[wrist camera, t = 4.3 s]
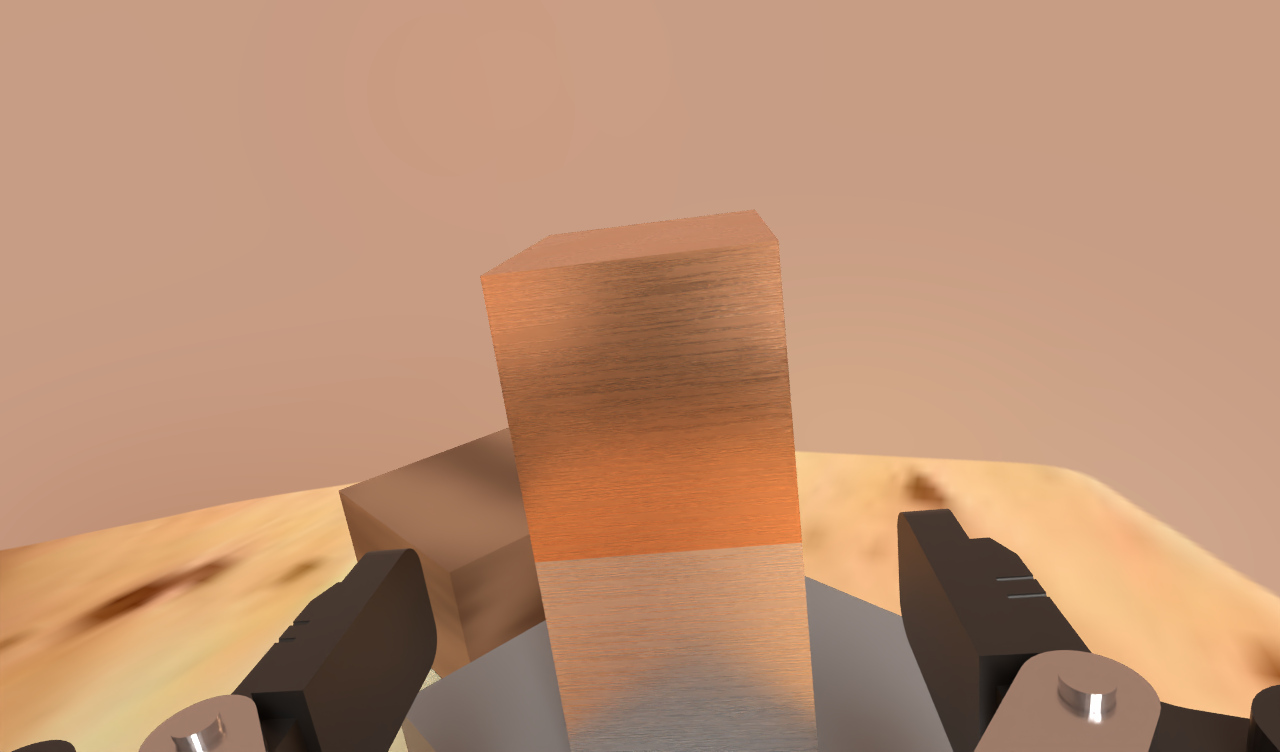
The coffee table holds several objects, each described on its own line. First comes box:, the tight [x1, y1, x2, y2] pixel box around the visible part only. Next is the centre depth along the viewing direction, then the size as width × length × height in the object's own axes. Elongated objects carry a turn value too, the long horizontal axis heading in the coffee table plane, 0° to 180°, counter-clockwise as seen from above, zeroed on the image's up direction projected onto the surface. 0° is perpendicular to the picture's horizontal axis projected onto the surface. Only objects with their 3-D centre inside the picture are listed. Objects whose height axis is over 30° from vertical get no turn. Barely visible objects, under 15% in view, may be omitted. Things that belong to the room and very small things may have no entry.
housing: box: [480, 210, 818, 752], centre depth 17 cm, size 5×6×11 cm
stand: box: [339, 428, 546, 678], centre depth 34 cm, size 11×11×6 cm
